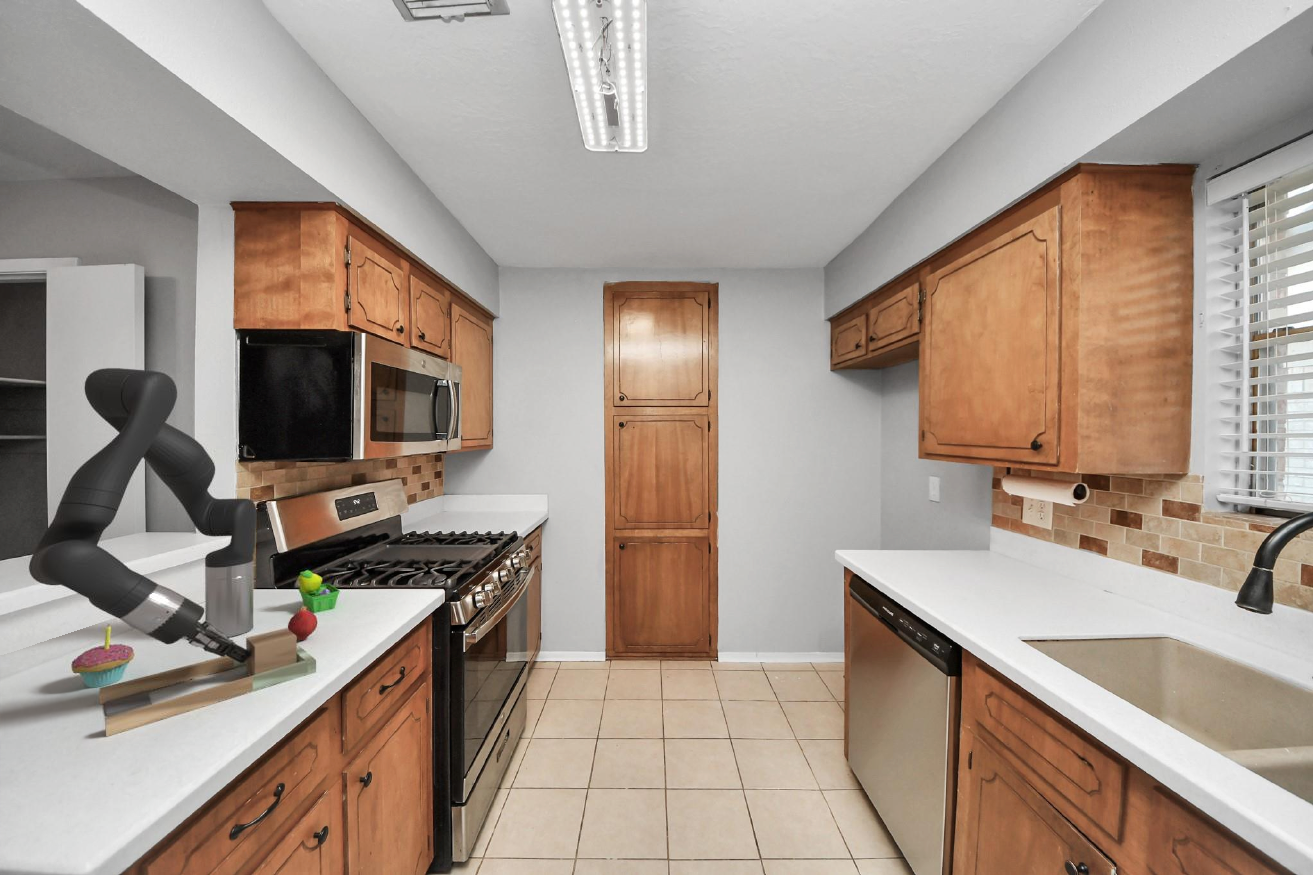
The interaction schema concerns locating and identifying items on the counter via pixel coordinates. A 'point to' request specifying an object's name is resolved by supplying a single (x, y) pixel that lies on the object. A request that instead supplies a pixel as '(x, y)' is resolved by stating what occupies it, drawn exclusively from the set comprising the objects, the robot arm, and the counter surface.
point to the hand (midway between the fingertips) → (246, 657)
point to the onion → (303, 623)
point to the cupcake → (103, 663)
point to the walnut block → (271, 651)
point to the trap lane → (135, 709)
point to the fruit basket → (316, 592)
